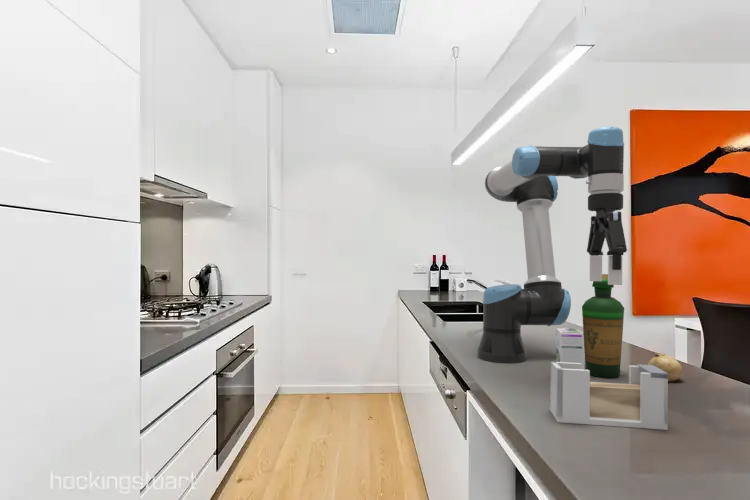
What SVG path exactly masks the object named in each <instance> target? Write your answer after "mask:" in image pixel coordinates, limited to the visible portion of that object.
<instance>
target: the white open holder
mask: <svg viewBox="0 0 750 500" xmlns="http://www.w3.org/2000/svg"><path fill="white" fill-rule="evenodd" d="M549 376H550V386H549V388H550V391H549V393H550V396H549V397H550V399H549V401H550V402H549V404H550V405H549V407H550V408H549V411H550V412H551V414H552V416H553V418H554V420H555V421H556V422H557V423H563V424H577V425H579V424H580V425H593V426H604V427H620V428H622V427H623V428H634V429H651V430H661V431H663V430H665V431H668V429H669V428H668V427H669V426H668V421H669V419H668V417H669V416H668V415H669V413H668V409H669V407H668V406H669V405H668V404H669V400H668V399H669V395H668V394H669V392H668V391H669V388H668V387H669V385H668V383H669V382H668V373H666V372H664V371H663V370H661V369H659V368H657V367H655V366H654V365H648V364H644V363H643V364H640V363H639V364H638V363H637V364H636V365H632V364H631V365H628V384H637V385H640V420H633V419H617V418H602V417H590V382H591V381H590V379H591V375H590V371H589V370H585V368H584V369H582V364H581V363H570V362H556V361H550V375H549Z"/></svg>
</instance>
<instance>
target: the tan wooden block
mask: <svg viewBox="0 0 750 500" xmlns="http://www.w3.org/2000/svg"><path fill="white" fill-rule="evenodd" d="M590 417H602V418H617V419H633V420H640V385H637V384H629V383H617V382H616V383H615V382H600V381H599V382H598V381H590Z"/></svg>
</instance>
